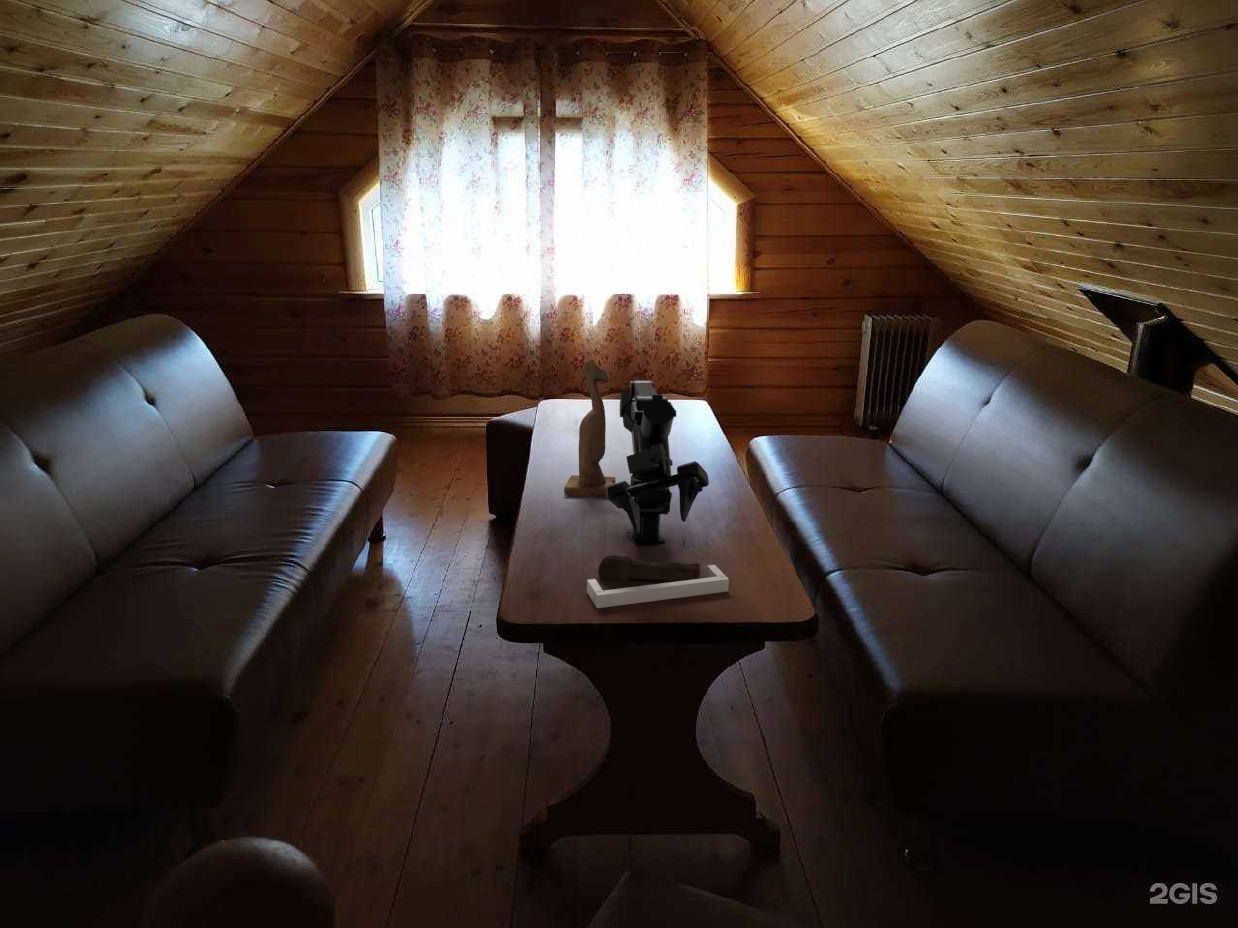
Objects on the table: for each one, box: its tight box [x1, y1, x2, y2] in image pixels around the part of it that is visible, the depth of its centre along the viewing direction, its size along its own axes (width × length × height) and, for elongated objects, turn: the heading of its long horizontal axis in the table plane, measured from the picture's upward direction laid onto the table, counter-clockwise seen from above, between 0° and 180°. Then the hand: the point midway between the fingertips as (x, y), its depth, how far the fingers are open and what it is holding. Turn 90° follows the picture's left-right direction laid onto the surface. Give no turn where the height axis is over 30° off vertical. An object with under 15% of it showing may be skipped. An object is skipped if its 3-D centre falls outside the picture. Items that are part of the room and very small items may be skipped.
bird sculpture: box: [563, 359, 617, 499], centre depth 208 cm, size 11×12×32 cm
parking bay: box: [586, 564, 730, 609], centre depth 160 cm, size 6×25×2 cm, turn 108°
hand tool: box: [597, 555, 701, 582], centre depth 166 cm, size 19×4×5 cm, turn 83°
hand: (659, 526), depth 160 cm, fingers open, 9 cm apart
